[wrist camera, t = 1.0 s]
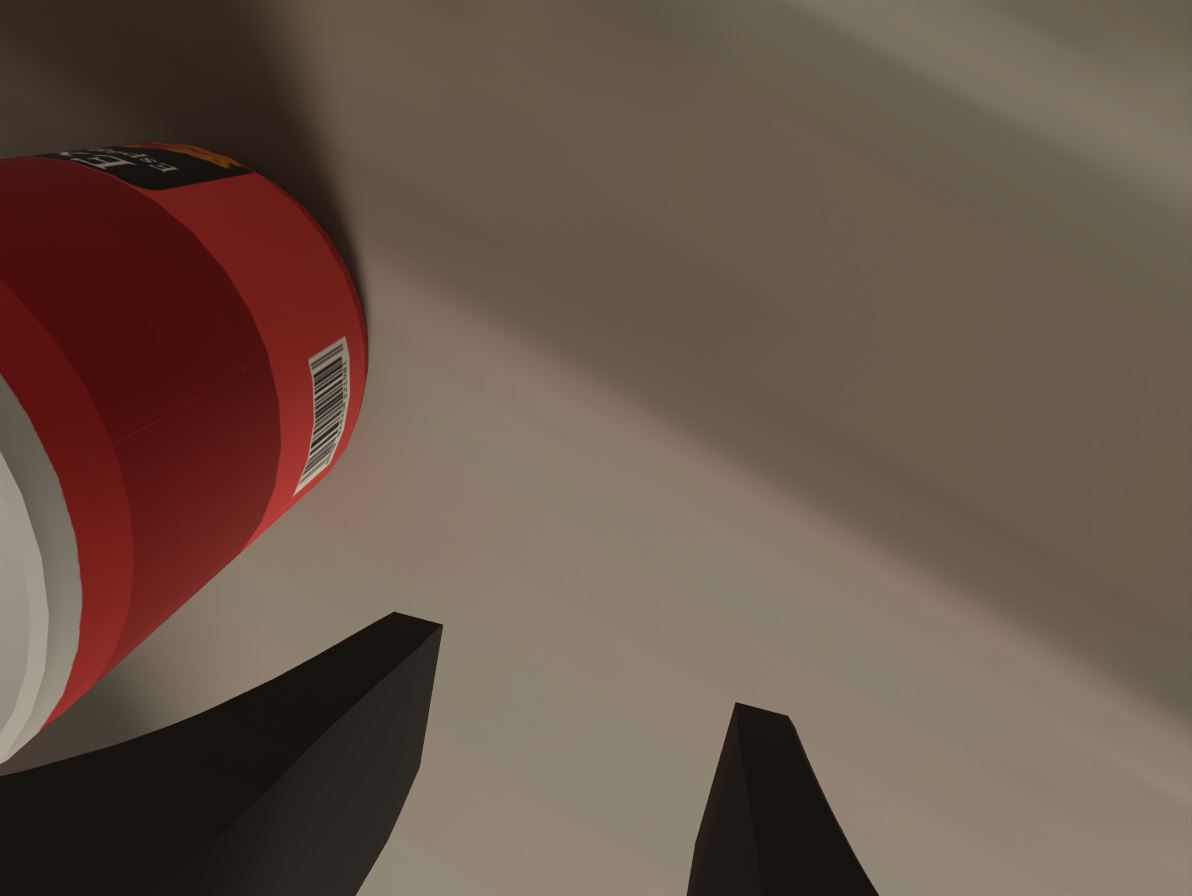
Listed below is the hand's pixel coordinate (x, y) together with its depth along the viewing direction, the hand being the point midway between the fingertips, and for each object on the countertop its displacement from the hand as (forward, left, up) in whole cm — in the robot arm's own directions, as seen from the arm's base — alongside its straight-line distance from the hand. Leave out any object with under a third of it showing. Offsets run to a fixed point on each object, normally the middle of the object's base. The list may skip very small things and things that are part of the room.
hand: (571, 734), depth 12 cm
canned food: (0, +10, -11) cm, 15 cm away
